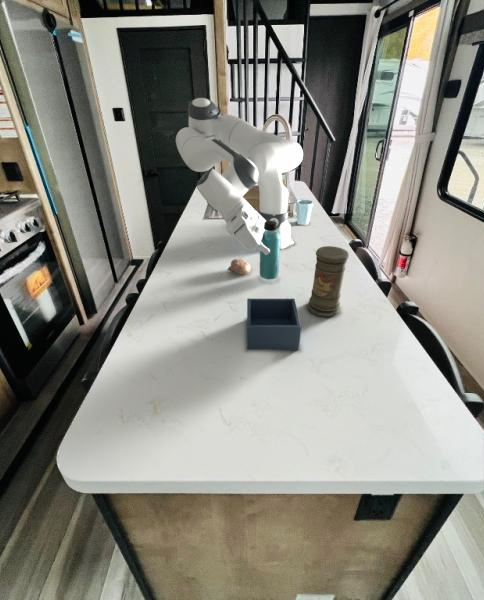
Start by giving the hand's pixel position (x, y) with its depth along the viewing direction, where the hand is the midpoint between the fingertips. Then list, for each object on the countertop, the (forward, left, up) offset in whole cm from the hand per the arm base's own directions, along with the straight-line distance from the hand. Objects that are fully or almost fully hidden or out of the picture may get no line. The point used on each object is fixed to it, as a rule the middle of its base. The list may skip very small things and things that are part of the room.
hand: (270, 247), depth 103 cm
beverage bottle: (0, 0, -12) cm, 12 cm away
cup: (-57, +20, -12) cm, 62 cm away
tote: (+30, -1, -12) cm, 32 cm away
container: (+18, +15, -12) cm, 26 cm away
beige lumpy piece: (-5, -10, -12) cm, 16 cm away
